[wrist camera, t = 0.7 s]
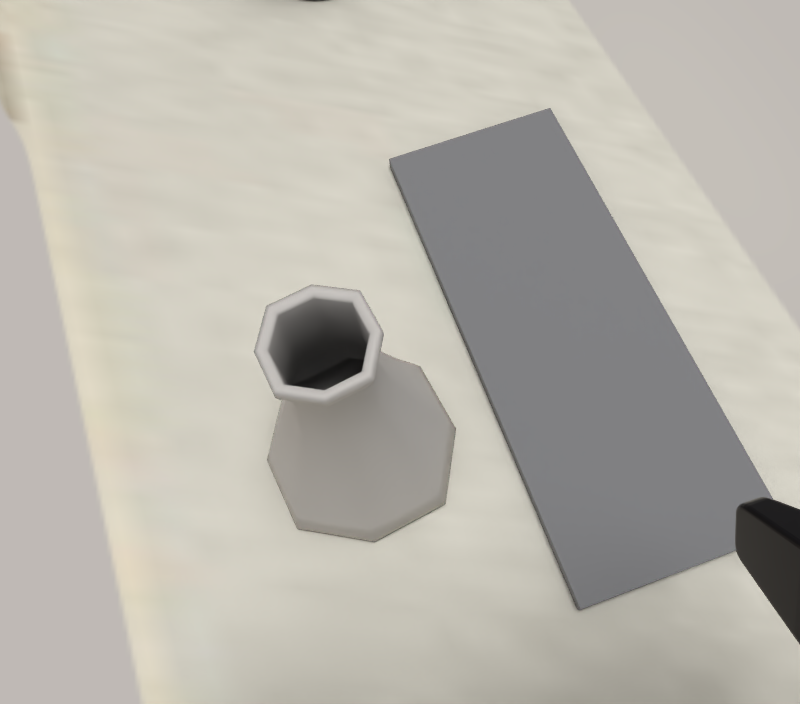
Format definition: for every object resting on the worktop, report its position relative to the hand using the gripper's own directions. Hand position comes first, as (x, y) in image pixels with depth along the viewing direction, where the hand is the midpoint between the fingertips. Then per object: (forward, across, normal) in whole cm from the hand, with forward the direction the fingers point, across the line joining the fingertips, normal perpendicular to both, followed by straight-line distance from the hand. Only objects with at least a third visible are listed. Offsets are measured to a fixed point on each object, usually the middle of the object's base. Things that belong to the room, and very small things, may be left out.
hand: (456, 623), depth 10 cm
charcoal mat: (+16, -9, +5) cm, 19 cm away
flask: (+15, 0, +7) cm, 16 cm away
